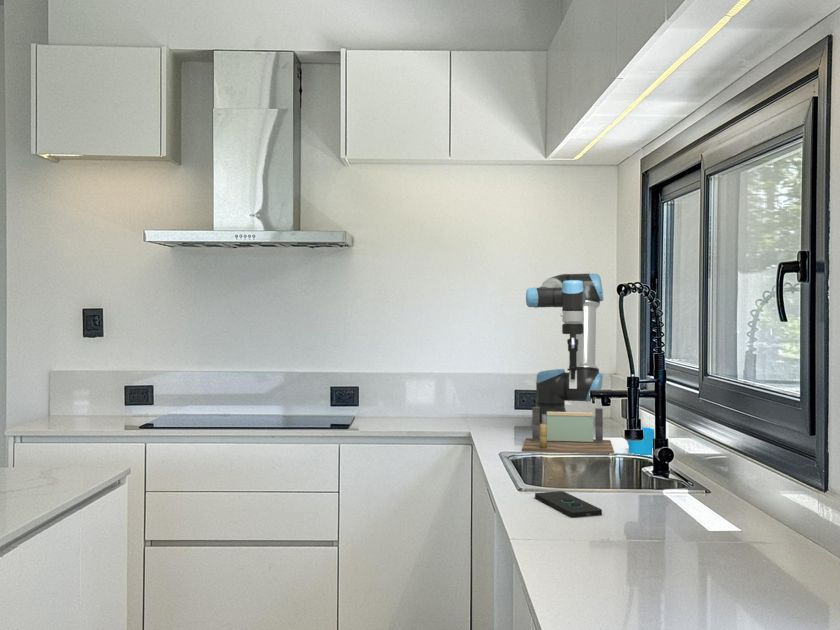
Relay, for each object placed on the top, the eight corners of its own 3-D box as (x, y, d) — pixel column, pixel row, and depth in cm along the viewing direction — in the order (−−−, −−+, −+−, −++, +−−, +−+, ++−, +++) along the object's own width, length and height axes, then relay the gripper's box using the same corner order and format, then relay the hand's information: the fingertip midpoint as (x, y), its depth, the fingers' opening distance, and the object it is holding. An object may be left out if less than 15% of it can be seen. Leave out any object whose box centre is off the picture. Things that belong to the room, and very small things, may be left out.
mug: (659, 455, 245) (659, 430, 245) (638, 456, 242) (638, 431, 242) (637, 449, 256) (637, 425, 256) (617, 450, 254) (617, 426, 254)
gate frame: (525, 440, 275) (525, 404, 275) (610, 442, 269) (610, 406, 269) (522, 451, 252) (521, 412, 252) (614, 454, 246) (613, 414, 247)
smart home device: (570, 512, 169) (533, 492, 188) (571, 519, 169) (533, 499, 188) (603, 509, 171) (563, 490, 190) (603, 517, 171) (563, 497, 190)
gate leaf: (541, 439, 267) (541, 411, 267) (593, 440, 264) (592, 412, 264) (541, 440, 265) (541, 412, 265) (593, 441, 262) (593, 413, 262)
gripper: (562, 323, 278) (562, 386, 278) (562, 323, 266) (562, 389, 265) (583, 323, 277) (583, 386, 277) (583, 323, 264) (584, 390, 264)
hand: (573, 388), depth 271 cm, fingers closed
